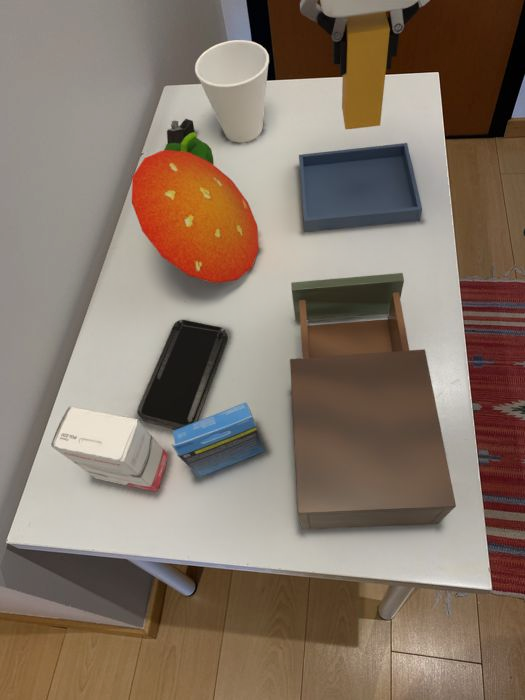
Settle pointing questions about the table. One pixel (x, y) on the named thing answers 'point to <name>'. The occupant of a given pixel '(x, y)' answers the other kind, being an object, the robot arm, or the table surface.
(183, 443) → the label tape box
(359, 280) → the drawer
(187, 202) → the toy strawberry
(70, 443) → the ink box
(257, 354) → the table surface
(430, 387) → the cabinet
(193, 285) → the table surface
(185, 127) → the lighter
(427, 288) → the table surface
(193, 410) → the phone
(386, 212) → the tray
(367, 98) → the block
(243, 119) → the cup
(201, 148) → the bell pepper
